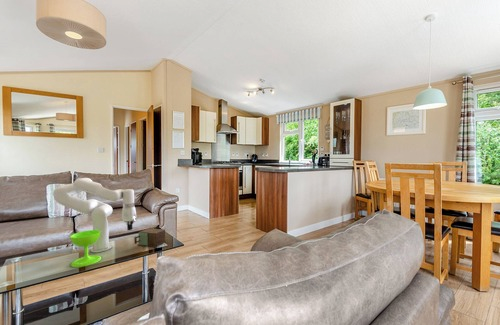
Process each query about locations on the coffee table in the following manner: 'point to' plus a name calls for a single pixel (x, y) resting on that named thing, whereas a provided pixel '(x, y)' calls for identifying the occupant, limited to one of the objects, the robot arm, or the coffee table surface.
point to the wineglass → (85, 247)
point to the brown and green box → (154, 237)
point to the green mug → (142, 238)
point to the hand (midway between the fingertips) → (130, 229)
